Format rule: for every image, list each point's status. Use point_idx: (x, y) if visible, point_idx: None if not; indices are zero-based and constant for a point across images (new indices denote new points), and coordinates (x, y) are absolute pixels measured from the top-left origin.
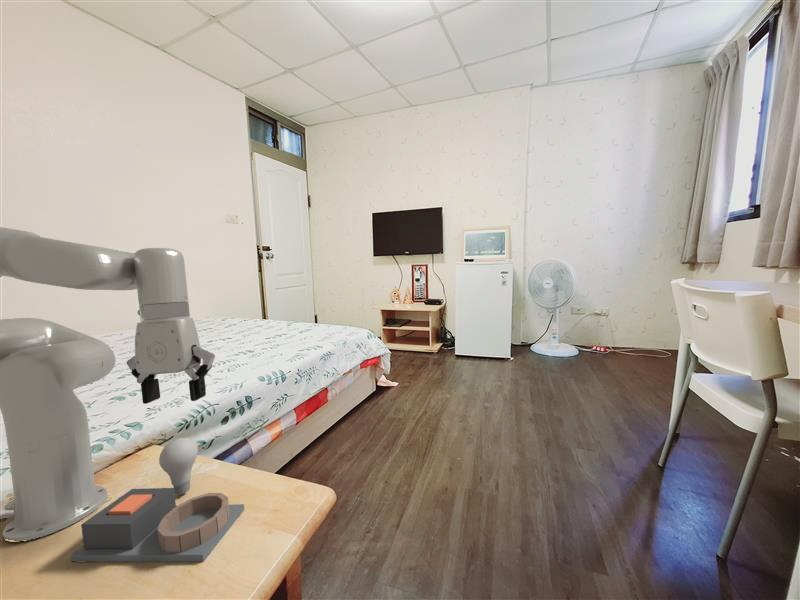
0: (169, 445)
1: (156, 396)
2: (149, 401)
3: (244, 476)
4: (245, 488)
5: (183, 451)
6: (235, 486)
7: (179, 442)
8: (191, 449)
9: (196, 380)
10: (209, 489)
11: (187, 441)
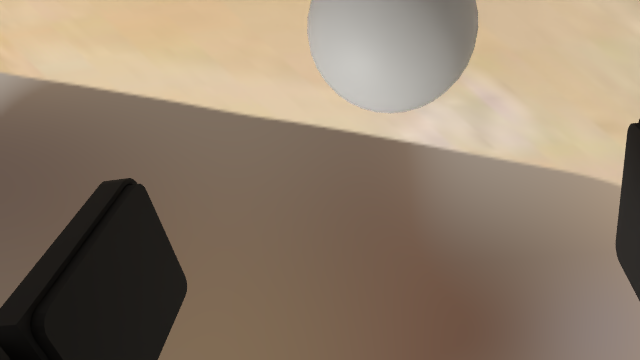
0: (402, 11)
1: (626, 235)
2: (629, 149)
3: (237, 99)
4: (173, 42)
5: (316, 11)
6: (220, 46)
7: (359, 42)
8: (311, 47)
9: (2, 353)
10: (306, 17)
11: (340, 70)
